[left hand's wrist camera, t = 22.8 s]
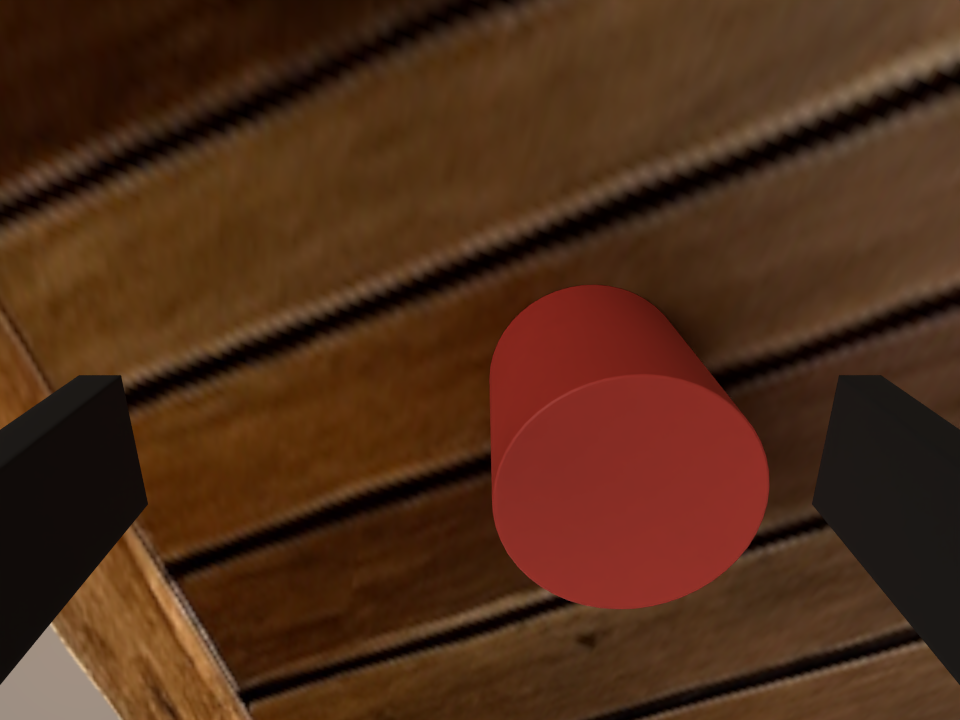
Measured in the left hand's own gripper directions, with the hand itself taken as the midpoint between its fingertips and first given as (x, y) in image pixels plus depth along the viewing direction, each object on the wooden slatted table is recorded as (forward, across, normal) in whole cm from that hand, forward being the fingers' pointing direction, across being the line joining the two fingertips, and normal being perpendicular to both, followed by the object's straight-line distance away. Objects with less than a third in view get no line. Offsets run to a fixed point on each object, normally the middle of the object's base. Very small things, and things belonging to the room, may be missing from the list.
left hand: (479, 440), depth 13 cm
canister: (+15, +4, -5) cm, 16 cm away
